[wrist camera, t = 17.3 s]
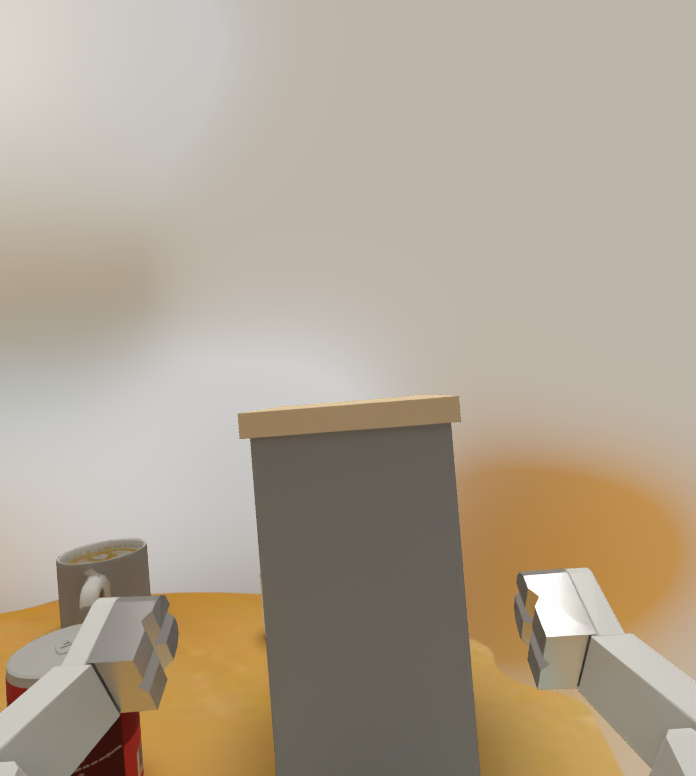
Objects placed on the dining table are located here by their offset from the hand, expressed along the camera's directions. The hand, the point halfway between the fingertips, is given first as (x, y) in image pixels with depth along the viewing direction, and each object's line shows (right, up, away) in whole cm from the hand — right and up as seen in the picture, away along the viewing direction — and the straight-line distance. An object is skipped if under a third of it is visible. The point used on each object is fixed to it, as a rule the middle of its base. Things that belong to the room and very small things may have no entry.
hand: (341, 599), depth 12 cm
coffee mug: (-29, -25, +48) cm, 61 cm away
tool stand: (+3, -22, +25) cm, 33 cm away
